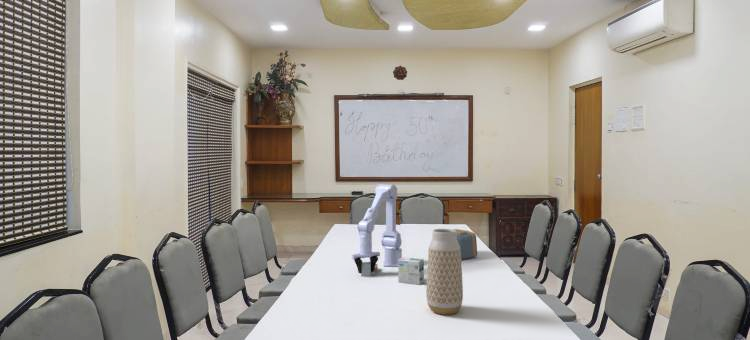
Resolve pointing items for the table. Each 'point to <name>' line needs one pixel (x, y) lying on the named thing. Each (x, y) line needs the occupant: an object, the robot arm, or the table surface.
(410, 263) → the light bulb box
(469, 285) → the table surface
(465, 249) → the alarm clock
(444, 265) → the vase
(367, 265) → the grey block
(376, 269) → the walnut base
